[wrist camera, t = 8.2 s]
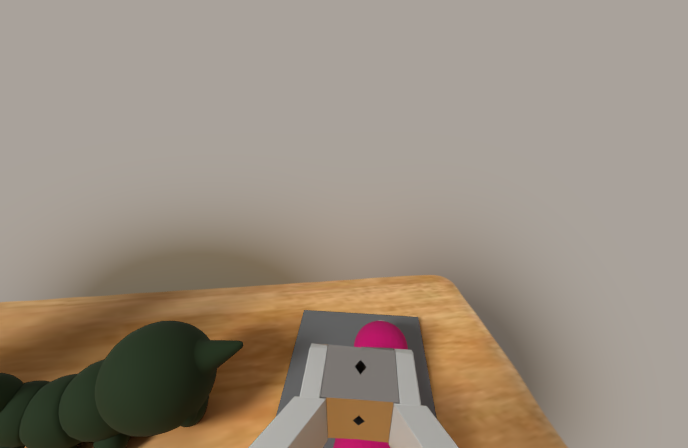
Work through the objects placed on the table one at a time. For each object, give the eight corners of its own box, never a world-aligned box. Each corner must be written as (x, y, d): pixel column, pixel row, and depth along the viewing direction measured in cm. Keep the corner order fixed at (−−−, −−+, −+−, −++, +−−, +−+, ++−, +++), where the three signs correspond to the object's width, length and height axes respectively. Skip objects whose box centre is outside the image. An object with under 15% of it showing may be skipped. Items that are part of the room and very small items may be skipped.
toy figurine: (-45, 519, 25) (259, 445, 28) (-303, 379, 16) (192, 290, 19) (34, 406, 33) (264, 358, 36) (-106, 270, 24) (218, 220, 27)
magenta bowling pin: (303, 534, 21) (342, 328, 39) (394, 575, 21) (390, 353, 40) (354, 487, 18) (370, 288, 36) (458, 536, 18) (422, 316, 37)
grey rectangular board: (456, 538, 23) (457, 535, 23) (251, 516, 24) (250, 512, 24) (417, 320, 42) (418, 317, 42) (304, 313, 43) (304, 310, 43)
